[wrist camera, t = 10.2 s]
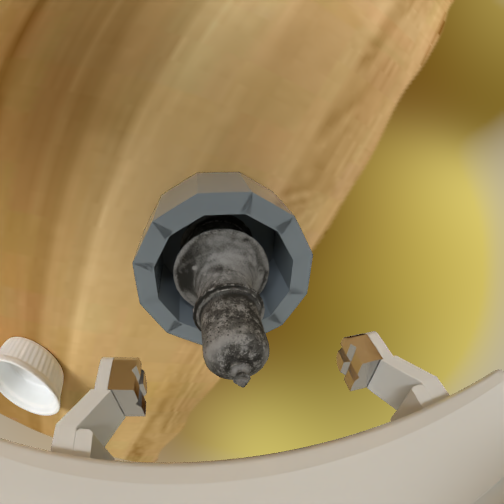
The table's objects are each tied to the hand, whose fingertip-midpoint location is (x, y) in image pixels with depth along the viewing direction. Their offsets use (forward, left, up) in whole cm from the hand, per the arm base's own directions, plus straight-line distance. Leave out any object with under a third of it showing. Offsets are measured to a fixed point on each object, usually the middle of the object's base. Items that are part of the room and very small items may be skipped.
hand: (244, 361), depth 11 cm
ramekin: (+14, -21, -12) cm, 28 cm away
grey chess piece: (+1, 0, -11) cm, 11 cm away
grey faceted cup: (+1, 0, -12) cm, 12 cm away
